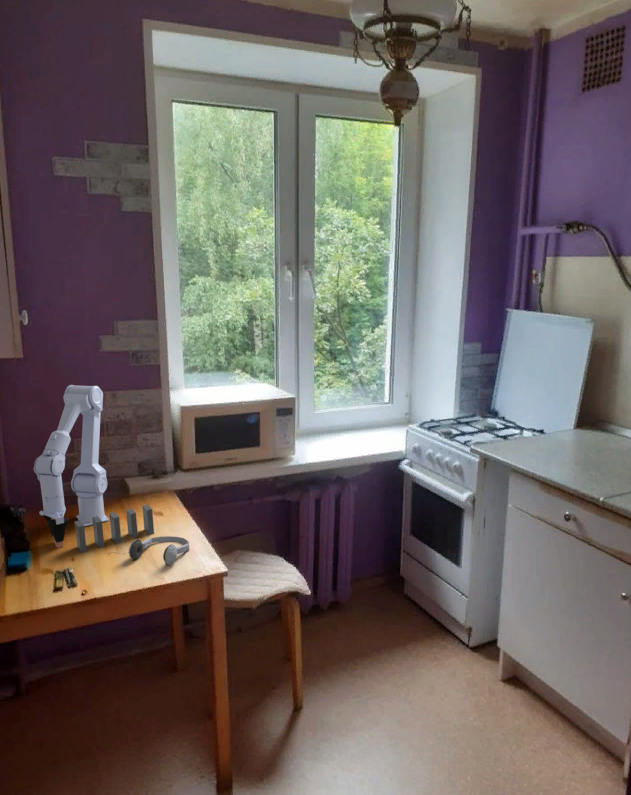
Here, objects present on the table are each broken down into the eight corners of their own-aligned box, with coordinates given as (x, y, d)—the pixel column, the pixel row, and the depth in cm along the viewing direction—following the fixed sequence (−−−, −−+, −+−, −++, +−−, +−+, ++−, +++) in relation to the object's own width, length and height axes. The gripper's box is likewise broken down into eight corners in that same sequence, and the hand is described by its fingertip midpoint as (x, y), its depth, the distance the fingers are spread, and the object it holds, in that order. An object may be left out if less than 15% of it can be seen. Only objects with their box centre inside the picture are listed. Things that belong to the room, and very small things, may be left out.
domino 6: (144, 529, 188) (142, 505, 187) (149, 528, 189) (147, 504, 187) (149, 534, 185) (147, 510, 183) (154, 533, 186) (152, 508, 184)
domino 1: (54, 542, 180) (51, 517, 179) (59, 541, 181) (56, 516, 180) (57, 548, 177) (54, 522, 175) (63, 546, 178) (60, 521, 176)
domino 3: (94, 542, 180) (92, 517, 178) (100, 540, 181) (97, 516, 179) (98, 547, 177) (96, 522, 175) (104, 546, 178) (101, 521, 176)
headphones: (162, 574, 159) (199, 551, 178) (162, 553, 159) (199, 532, 178) (106, 565, 165) (147, 544, 184) (106, 544, 164) (148, 525, 183)
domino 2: (77, 546, 178) (74, 521, 176) (82, 545, 178) (80, 520, 177) (80, 552, 174) (78, 526, 172) (86, 551, 175) (83, 525, 173)
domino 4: (111, 537, 183) (109, 513, 181) (117, 536, 184) (114, 512, 182) (116, 543, 179) (113, 518, 178) (121, 541, 180) (119, 517, 178)
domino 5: (128, 533, 186) (126, 509, 184) (133, 532, 187) (131, 508, 185) (132, 538, 182) (130, 514, 180) (138, 537, 183) (135, 512, 181)
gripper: (33, 490, 179) (38, 532, 182) (42, 506, 168) (48, 551, 171) (58, 485, 183) (63, 526, 186) (69, 500, 171) (74, 544, 174)
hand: (57, 538), depth 179 cm, fingers closed on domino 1, 4 cm apart
